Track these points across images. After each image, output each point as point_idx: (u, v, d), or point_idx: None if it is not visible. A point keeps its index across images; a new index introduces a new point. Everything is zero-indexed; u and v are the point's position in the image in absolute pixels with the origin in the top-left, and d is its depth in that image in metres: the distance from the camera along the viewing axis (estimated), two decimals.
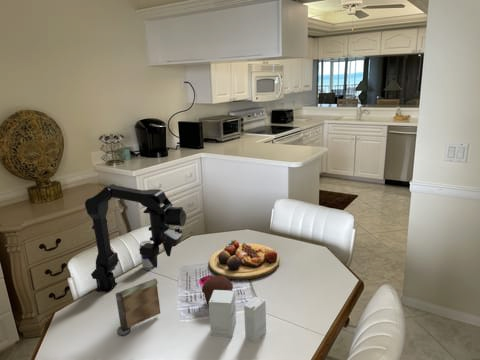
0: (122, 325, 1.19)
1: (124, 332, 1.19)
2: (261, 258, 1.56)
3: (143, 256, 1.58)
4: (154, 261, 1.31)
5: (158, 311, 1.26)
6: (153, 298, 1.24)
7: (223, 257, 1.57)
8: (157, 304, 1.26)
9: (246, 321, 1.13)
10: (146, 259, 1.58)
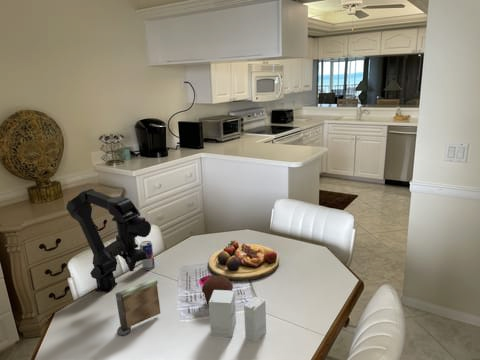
0: (122, 325, 1.19)
1: (124, 332, 1.19)
2: (261, 258, 1.55)
3: None
4: None
5: (158, 311, 1.26)
6: (153, 298, 1.24)
7: (223, 257, 1.56)
8: (157, 304, 1.26)
9: (246, 321, 1.13)
10: (146, 259, 1.58)
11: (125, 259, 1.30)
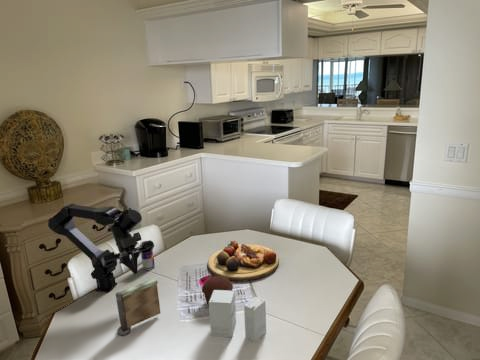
0: (122, 325, 1.19)
1: (124, 332, 1.19)
2: (260, 259, 1.55)
3: (143, 256, 1.58)
4: (130, 266, 1.31)
5: (158, 311, 1.26)
6: (153, 298, 1.24)
7: (222, 258, 1.56)
8: (157, 304, 1.26)
9: (246, 321, 1.13)
10: (146, 259, 1.58)
11: (139, 251, 1.33)
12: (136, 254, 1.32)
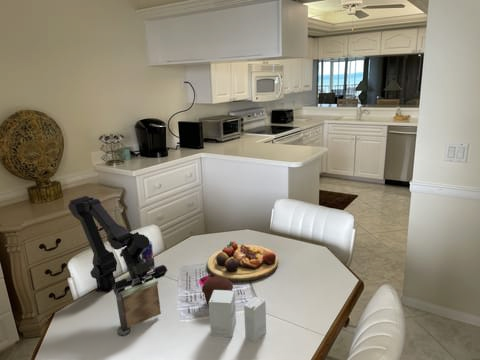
0: (122, 325, 1.19)
1: (124, 332, 1.19)
2: (259, 260, 1.54)
3: (143, 256, 1.58)
4: None
5: (158, 311, 1.26)
6: (154, 298, 1.24)
7: (221, 259, 1.55)
8: (157, 304, 1.25)
9: (246, 321, 1.13)
10: None
11: (152, 276, 1.27)
12: (149, 280, 1.26)
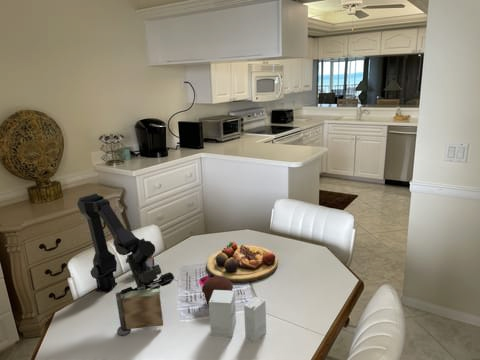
0: (121, 325, 1.19)
1: (124, 332, 1.19)
2: (259, 260, 1.54)
3: None
4: None
5: (160, 323, 1.20)
6: (155, 308, 1.19)
7: (221, 259, 1.55)
8: (159, 315, 1.19)
9: (246, 321, 1.13)
10: None
11: (159, 284, 1.23)
12: (156, 288, 1.22)
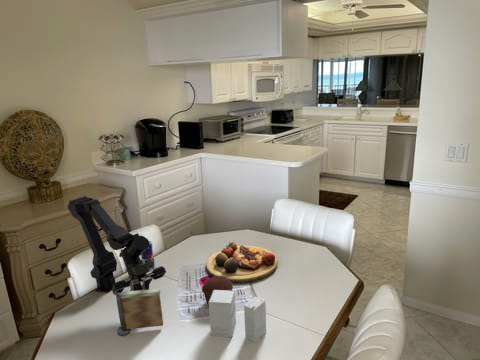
0: (121, 325, 1.19)
1: (124, 332, 1.19)
2: (259, 260, 1.54)
3: (143, 256, 1.58)
4: None
5: (160, 323, 1.20)
6: (155, 308, 1.19)
7: (220, 259, 1.55)
8: (159, 315, 1.19)
9: (246, 321, 1.13)
10: (146, 259, 1.58)
11: (151, 278, 1.28)
12: (148, 281, 1.27)
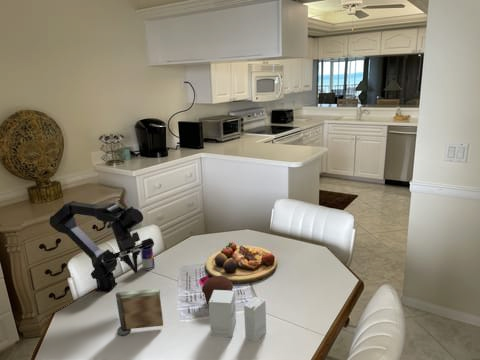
0: (121, 325, 1.19)
1: (124, 332, 1.19)
2: (258, 261, 1.53)
3: (143, 256, 1.58)
4: (130, 265, 1.32)
5: (160, 323, 1.20)
6: (155, 308, 1.19)
7: (220, 260, 1.54)
8: (159, 315, 1.19)
9: (246, 321, 1.13)
10: (146, 259, 1.58)
11: (139, 250, 1.33)
12: (136, 253, 1.32)
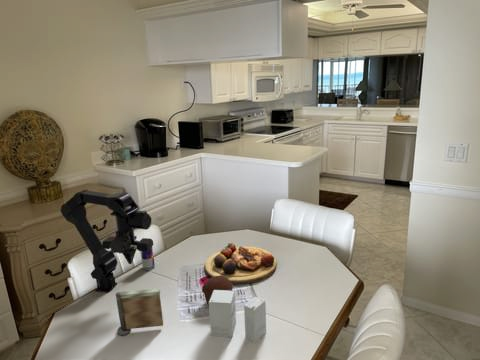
0: (121, 325, 1.19)
1: (124, 332, 1.19)
2: (257, 262, 1.53)
3: (143, 256, 1.58)
4: None
5: (160, 323, 1.20)
6: (155, 308, 1.19)
7: (219, 260, 1.54)
8: (159, 315, 1.19)
9: (246, 321, 1.13)
10: (146, 259, 1.58)
11: (132, 251, 1.34)
12: (129, 252, 1.35)
